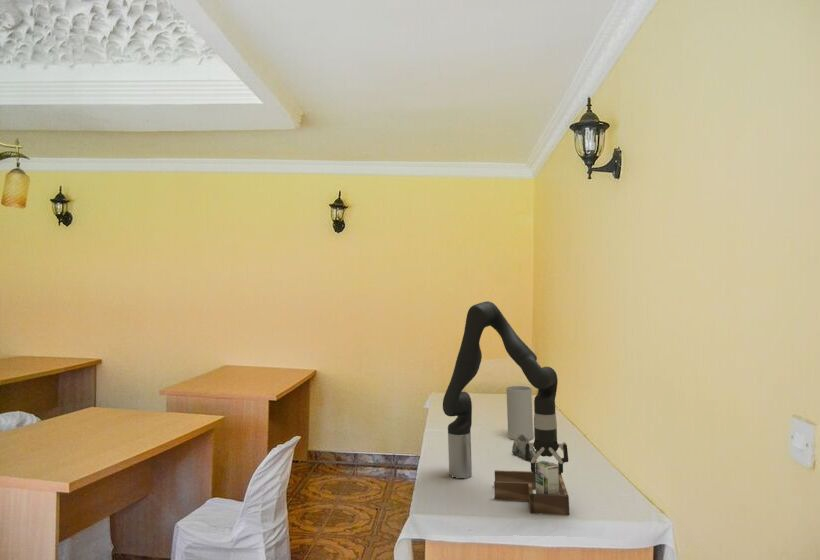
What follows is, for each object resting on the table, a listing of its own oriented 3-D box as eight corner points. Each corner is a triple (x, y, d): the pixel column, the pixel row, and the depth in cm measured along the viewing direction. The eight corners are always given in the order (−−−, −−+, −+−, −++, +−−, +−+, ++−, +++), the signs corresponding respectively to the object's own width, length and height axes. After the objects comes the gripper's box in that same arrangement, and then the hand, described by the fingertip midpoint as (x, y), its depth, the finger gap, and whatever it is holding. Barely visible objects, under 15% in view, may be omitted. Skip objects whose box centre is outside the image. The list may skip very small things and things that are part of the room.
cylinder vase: (523, 442, 244) (521, 391, 245) (503, 438, 253) (501, 388, 254) (538, 437, 252) (536, 387, 253) (518, 433, 262) (516, 385, 262)
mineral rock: (537, 462, 215) (536, 439, 215) (512, 461, 217) (511, 438, 217) (536, 453, 227) (535, 431, 228) (512, 452, 229) (511, 430, 230)
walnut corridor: (495, 486, 189) (494, 470, 189) (561, 488, 185) (560, 472, 185) (494, 511, 167) (493, 493, 167) (569, 514, 163) (568, 496, 163)
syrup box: (535, 504, 172) (534, 461, 172) (549, 501, 174) (547, 459, 175) (546, 510, 167) (544, 466, 167) (560, 507, 169) (558, 464, 169)
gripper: (565, 423, 174) (566, 470, 173) (523, 422, 176) (525, 469, 176) (568, 429, 166) (570, 478, 166) (524, 428, 169) (526, 476, 168)
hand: (546, 473), depth 171 cm, fingers open, 8 cm apart
